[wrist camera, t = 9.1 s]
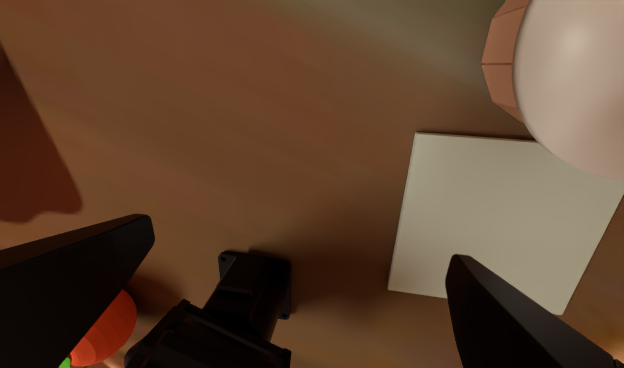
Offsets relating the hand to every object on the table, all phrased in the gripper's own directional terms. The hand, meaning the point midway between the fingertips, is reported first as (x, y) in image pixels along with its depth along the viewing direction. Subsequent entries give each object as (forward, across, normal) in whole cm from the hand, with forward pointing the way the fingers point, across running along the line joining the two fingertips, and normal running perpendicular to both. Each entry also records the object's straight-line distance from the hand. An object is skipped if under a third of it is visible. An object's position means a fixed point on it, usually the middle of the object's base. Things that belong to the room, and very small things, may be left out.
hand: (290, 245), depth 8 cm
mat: (+13, -12, +6) cm, 19 cm away
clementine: (+13, +21, +19) cm, 31 cm away
